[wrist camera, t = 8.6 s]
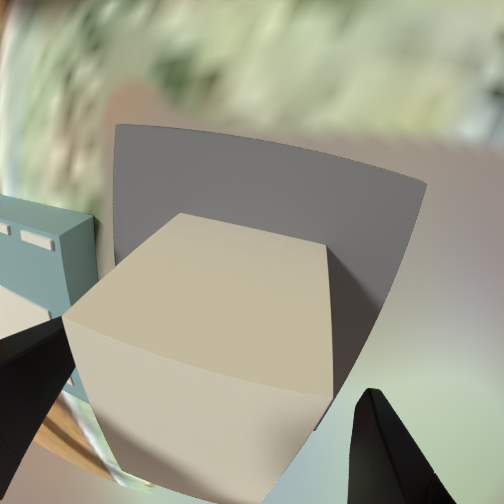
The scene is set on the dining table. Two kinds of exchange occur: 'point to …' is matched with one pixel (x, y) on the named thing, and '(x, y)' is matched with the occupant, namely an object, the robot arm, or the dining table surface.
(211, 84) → the dining table surface
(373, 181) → the mat
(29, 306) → the ticket book
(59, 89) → the dining table surface
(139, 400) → the stub
